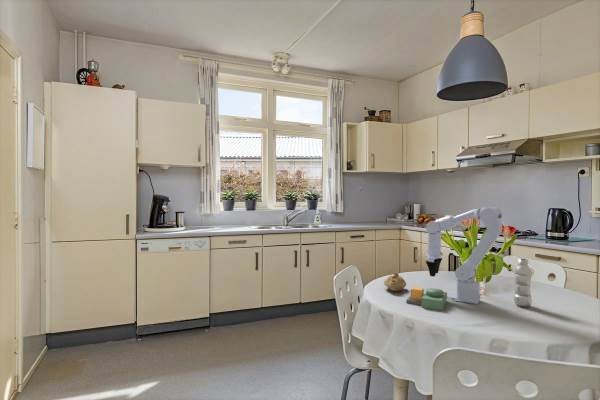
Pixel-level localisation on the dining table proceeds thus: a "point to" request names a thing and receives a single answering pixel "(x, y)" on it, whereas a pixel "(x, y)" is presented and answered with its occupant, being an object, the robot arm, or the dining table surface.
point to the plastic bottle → (522, 284)
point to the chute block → (417, 293)
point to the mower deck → (431, 299)
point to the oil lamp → (395, 282)
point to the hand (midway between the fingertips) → (434, 274)
